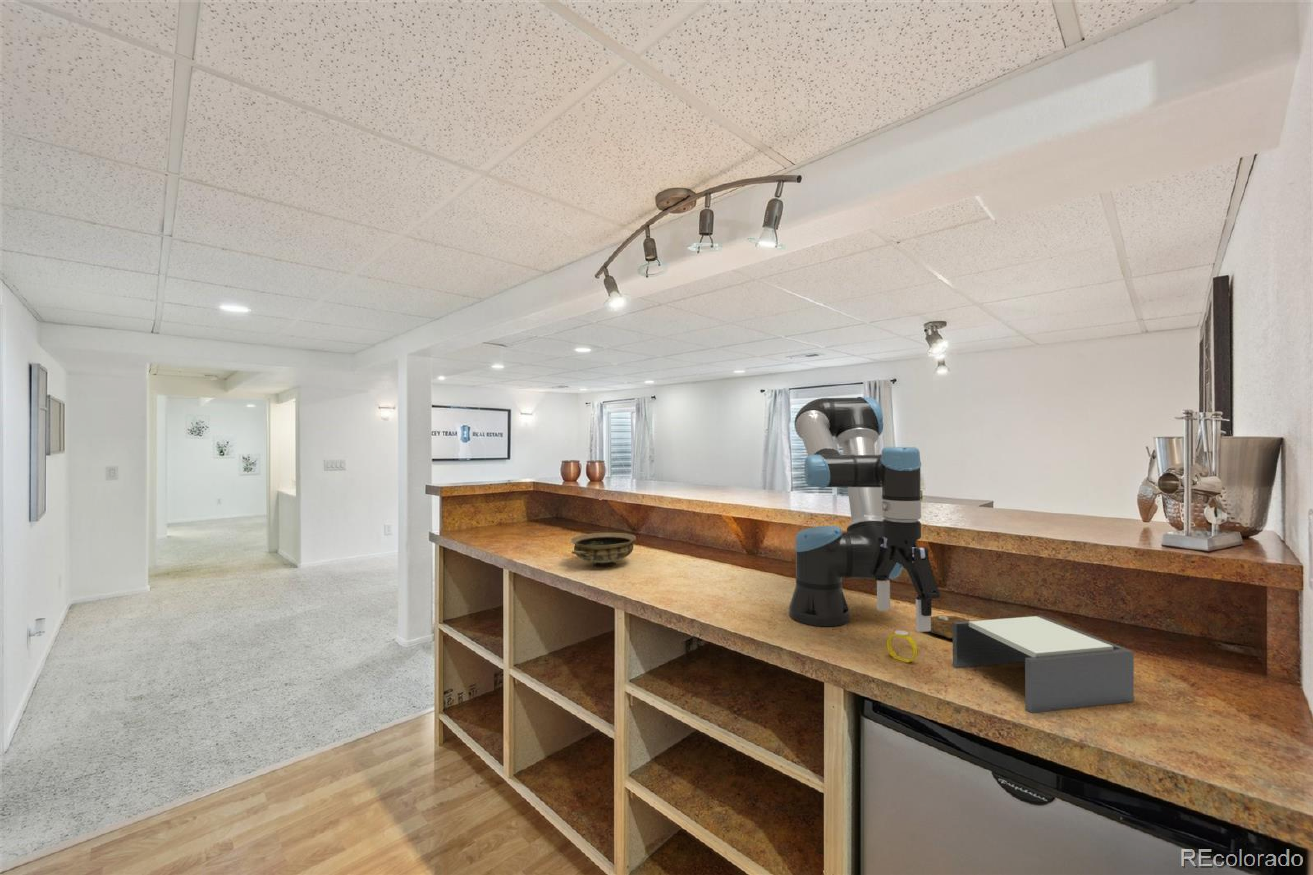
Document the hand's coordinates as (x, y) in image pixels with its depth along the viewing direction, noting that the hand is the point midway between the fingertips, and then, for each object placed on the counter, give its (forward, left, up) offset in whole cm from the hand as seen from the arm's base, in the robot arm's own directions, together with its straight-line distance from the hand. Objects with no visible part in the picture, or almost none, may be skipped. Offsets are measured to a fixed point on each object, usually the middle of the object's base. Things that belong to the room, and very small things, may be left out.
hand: (902, 619), depth 113 cm
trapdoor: (+14, +19, 0) cm, 23 cm away
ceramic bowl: (-95, -57, -9) cm, 111 cm away
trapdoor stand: (+14, +19, -9) cm, 25 cm away
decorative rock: (-10, +21, -9) cm, 25 cm away
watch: (0, 0, -9) cm, 9 cm away
